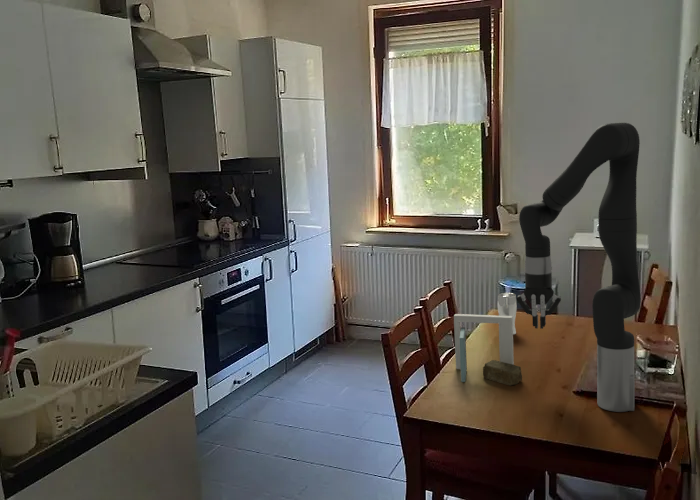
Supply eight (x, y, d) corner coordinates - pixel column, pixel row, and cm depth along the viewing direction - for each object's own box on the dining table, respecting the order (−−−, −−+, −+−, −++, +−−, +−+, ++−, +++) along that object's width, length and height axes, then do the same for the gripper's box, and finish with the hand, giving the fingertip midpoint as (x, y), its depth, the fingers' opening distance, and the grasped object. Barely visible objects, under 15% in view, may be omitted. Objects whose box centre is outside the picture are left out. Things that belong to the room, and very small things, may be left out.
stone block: (493, 373, 204) (492, 358, 203) (524, 382, 196) (523, 366, 195) (481, 378, 201) (481, 363, 200) (512, 387, 192) (512, 371, 191)
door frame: (513, 370, 205) (512, 316, 202) (512, 372, 203) (511, 317, 200) (457, 366, 212) (455, 313, 209) (455, 368, 210) (453, 315, 207)
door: (465, 381, 197) (463, 337, 195) (460, 381, 198) (459, 337, 196) (466, 368, 209) (465, 327, 206) (462, 368, 209) (460, 327, 207)
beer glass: (519, 335, 241) (518, 296, 238) (500, 336, 241) (499, 297, 238) (514, 329, 248) (513, 292, 245) (496, 331, 248) (495, 293, 245)
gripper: (512, 273, 188) (514, 330, 190) (561, 273, 183) (562, 332, 185) (516, 268, 195) (517, 323, 197) (563, 268, 189) (564, 325, 192)
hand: (539, 327), depth 191 cm, fingers closed
